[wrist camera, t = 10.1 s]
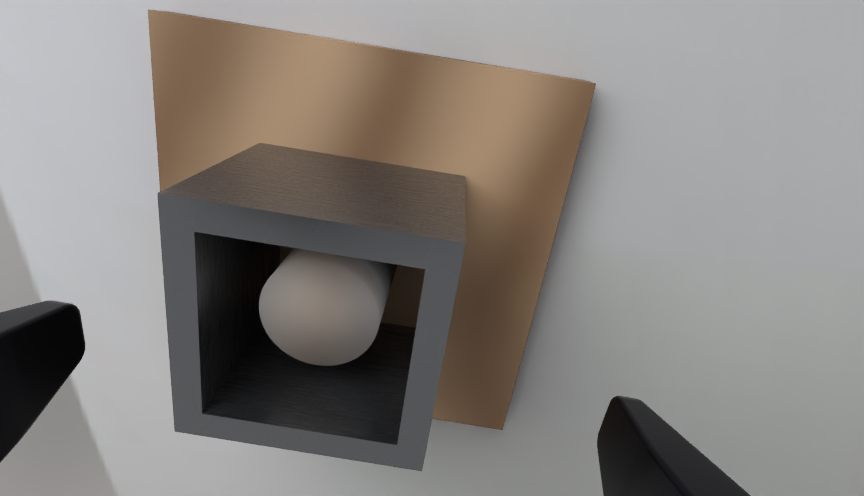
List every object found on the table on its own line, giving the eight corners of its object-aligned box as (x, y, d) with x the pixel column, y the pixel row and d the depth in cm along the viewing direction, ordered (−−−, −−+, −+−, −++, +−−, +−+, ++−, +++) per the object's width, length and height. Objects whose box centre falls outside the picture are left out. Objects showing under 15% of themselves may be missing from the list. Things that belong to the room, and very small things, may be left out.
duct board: (587, 80, 16) (645, 99, 11) (500, 410, 22) (512, 527, 17) (169, 11, 16) (28, -3, 11) (187, 359, 22) (99, 460, 16)
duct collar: (465, 176, 17) (465, 243, 11) (433, 348, 19) (422, 471, 14) (259, 142, 17) (157, 193, 11) (257, 319, 19) (174, 431, 14)
